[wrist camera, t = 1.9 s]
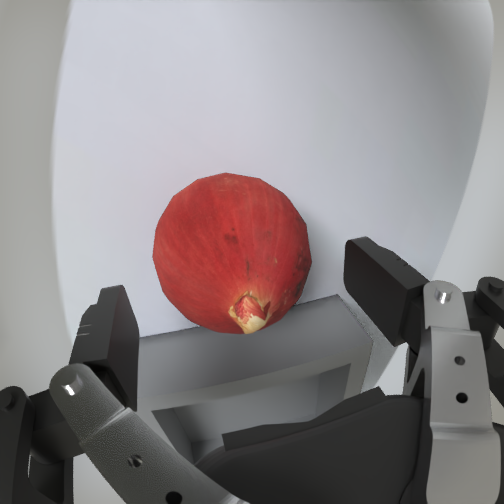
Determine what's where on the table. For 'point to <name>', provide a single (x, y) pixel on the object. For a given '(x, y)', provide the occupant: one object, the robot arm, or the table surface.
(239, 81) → the table surface
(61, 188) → the table surface
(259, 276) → the pomegranate
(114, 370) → the robot arm
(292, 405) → the box
